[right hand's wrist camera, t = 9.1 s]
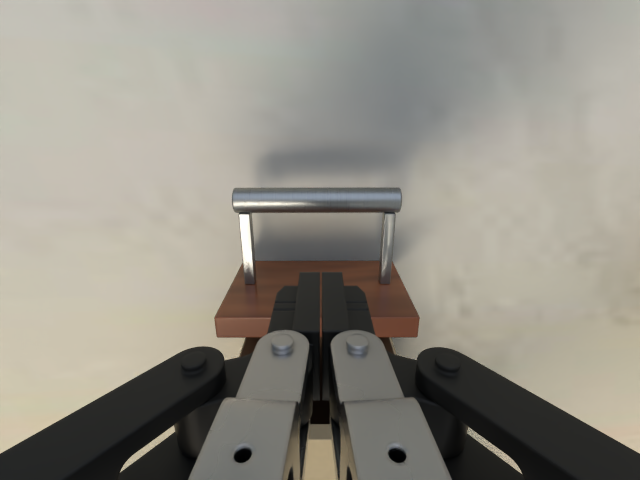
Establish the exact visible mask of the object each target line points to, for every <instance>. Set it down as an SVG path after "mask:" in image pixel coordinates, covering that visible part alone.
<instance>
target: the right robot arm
mask: <svg viewBox="0 0 640 480" xmlns="http://www.w3.org/2000/svg"><path fill="white" fill-rule="evenodd" d="M313 400H320V272H300V274H299V281H298V286H284V287H283V288H282V289H281V290H279V291H278V292H277V295H276V299H275V303H274V307H273V311H272V315H271V320H270V324H269V328H268V332H267V334H266V335H265V336H263V337H262V338H261V339H260V340H259V341H258V342H257V344H256V347H255V349H254V352H252V353H250V354H248V355H245V356H242V357H238V358H234V359H230V360H225V361H224V356H223V354H222V353H221V352H220V351H219V350H217V349H215V348H212V347H195V348H190V349H187V350H184V351H182V352H180V353H178V354H176V355H175V356H173V357H171V358H169V359H168V360H166V361H164V362H162V363H160V364H159V365H157V366H155V367H153V368H152V369H150V370H148V371H146V372H145V373H143V374H141V375H139V376H137V377H136V378H134V379H132V380H130V381H129V382H127V383H125V384H123V385H121V386H120V387H118V388H116V389H114V390H113V391H111V392H109V393H107V394H105V395H104V396H102V397H100V398H98V399H97V400H95V401H93V402H91V403H90V404H88V405H86V406H84V407H82V408H81V409H79V410H77V411H75V412H74V413H72V414H70V415H68V416H66V417H65V418H63V419H61V420H59V421H58V422H56V423H54V424H52V425H51V426H49V427H47V428H45V429H43V430H42V431H40V432H38V433H36V434H35V435H33V436H31V437H29V438H27V439H26V440H24V441H22V442H20V443H19V444H17V445H15V446H13V447H12V448H10V449H8V450H6V451H4V452H3V453H1V454H0V480H304V475H305V467H306V458H307V450H308V441H309V433H310V418H311V416H312V411H313ZM322 400H330V433H331V441H332V450H333V458H334V467H335V475H336V480H640V454H639V453H637V452H636V451H634V450H632V449H630V448H629V447H627V446H625V445H623V444H621V443H620V442H618V441H616V440H614V439H613V438H611V437H609V436H607V435H605V434H604V433H602V432H600V431H598V430H597V429H595V428H593V427H591V426H589V425H588V424H586V423H584V422H582V421H581V420H579V419H577V418H575V417H574V416H572V415H570V414H568V413H566V412H565V411H563V410H561V409H559V408H558V407H556V406H554V405H552V404H550V403H549V402H547V401H545V400H543V399H542V398H540V397H538V396H536V395H535V394H533V393H531V392H529V391H527V390H526V389H524V388H522V387H520V386H519V385H517V384H515V383H513V382H511V381H510V380H508V379H506V378H504V377H503V376H501V375H499V374H497V373H496V372H494V371H492V370H490V369H488V368H487V367H485V366H483V365H481V364H480V363H478V362H476V361H474V360H472V359H471V358H469V357H467V356H465V355H464V354H462V353H460V352H457V351H455V350H452V349H448V348H441V347H434V348H429V349H426V350H424V351H422V352H421V353H420V354H419V356H418V358H417V360H414V359H409V358H405V357H401V356H397V355H395V354H392V353H390V352H389V351H387V350H386V349H385V347H384V344H383V342H382V341H381V340H380V339H379V338H378V337H377V336H376V335H375V331H374V327H373V323H372V319H371V315H370V311H369V307H368V303H367V299H366V295H365V292H363V291H362V290H361V289H360V288H359V287H358V286H344V282H343V275H342V272H322ZM173 425H174V427H175V432H174V433H173V434H172V435H170V436H169V437H168V438H166V439H165V440H164V441H162V442H161V443H160V444H158V445H157V446H156V447H154V448H153V449H151V450H150V451H149V452H147V453H146V454H145V455H143V456H142V457H141V458H139V459H138V460H137V461H135V462H134V463H133V464H131V465H130V466H129V467H127V468H126V469H125V470H123V471H122V472H120V470H121V468H122V467H123V465H124V464H125V462H126V461H127V460H128V459H129V458H130V457H131V456H132V455H133V454H134V453H136V452H137V451H139V450H140V449H141V448H143V447H144V446H145V445H147V444H148V443H150V442H151V441H152V440H154V439H155V438H157V437H158V436H159V435H161V434H162V433H163V432H165V431H166V430H168V429H169V428H170V427H172V426H173ZM468 427H470V428H471V429H472V430H474V431H475V432H477V433H478V434H479V435H481V436H482V437H483V438H485V439H486V440H488V441H489V442H490V443H492V444H493V445H495V446H496V447H497V448H499V449H500V450H501V451H503V452H504V453H506V454H507V455H508V456H509V457H511V458H512V459H513V460H514V461H515V462H516V464H517V465H518V466H519V468H520V470H521V472H522V474H523V475H522V474H521V473H520V472H518V471H517V470H515V469H514V468H513V467H511V466H510V465H509V464H507V463H506V462H505V461H503V460H502V459H501V458H499V457H498V456H497V455H495V454H494V453H493V452H491V451H490V450H489V449H487V448H486V447H484V446H483V445H482V444H480V443H479V442H478V441H476V440H475V439H474V438H472V437H471V436H470V435H468V434H467V430H468Z"/></svg>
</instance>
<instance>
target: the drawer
mask: <svg viewBox="0 0 640 480" xmlns="http://www.w3.org/2000/svg"><path fill="white" fill-rule="evenodd" d="M232 205H233V209H234V212H236V213H239V224H240V235H241V247H242V258H243V263H242V265H241V267H240V269H239V271H238V273H237V275H236V277H235V279H234V281H233V283H232V285H231V286H230V288H229V290H228V292H227V294H226V296H225V298H224V300H223V302H222V304H221V306H220V308H219V310H218V312H217V314H216V315H215V318H214V319H215V326H216V334H217V337H246V339H245V342H244V345H243V348H242V351H241V354H240V357H242V356H245V355H248V354H250V353H252V352H254V349H255V347H256V344H257V342H258V341H259V340H260V339H261V338H262V337H263V336H265V335H266V334H267V332H268V328H269V324H270V320H271V315H272V311H273V307H274V303H275V299H276V295H277V292H278V291H279V290H281V289H282V288H283V287H284V286H298V281H299V274H300V272H320V400H313V411H312V416H311V418H310V424H330V400H322V272H342V275H343V282H344V286H358V287H359V288H360V289H361V290H362V291H363V292H365V295H366V299H367V303H368V307H369V311H370V315H371V319H372V323H373V327H374V331H375V335H376V336H377V337H378V338H379V339H380V340H381V341H382V342H383V344H384V347H385V349H386V350H387V351H389V352H390V353H392V354H394V351H393V348H392V345H391V342H390V338H389V337H417V335H418V327H419V315H418V313H417V311H416V309H415V307H414V305H413V303H412V301H411V299H410V297H409V295H408V293H407V291H406V288H405V286H404V284H403V282H402V280H401V278H400V276H399V274H398V272H397V270H396V268H395V266H394V264H393V262H392V253H393V241H394V228H395V215H396V214H395V213H394V212H400V209H401V205H402V193H401V189H400V188H234V190H233V193H232ZM252 213H383V216H382V232H381V247H380V261H255V251H254V238H253V224H252Z"/></svg>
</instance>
